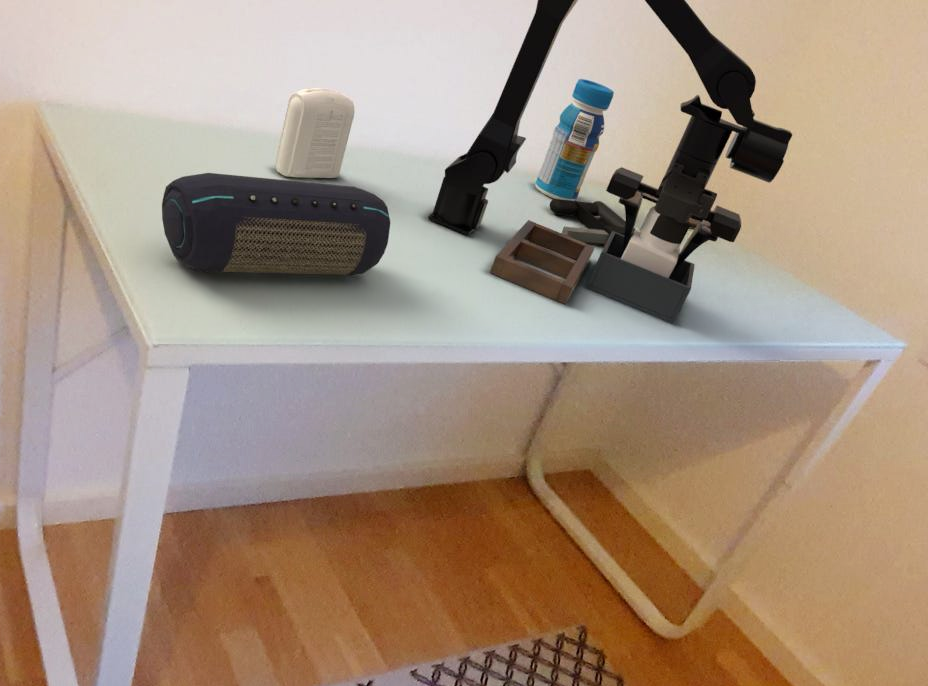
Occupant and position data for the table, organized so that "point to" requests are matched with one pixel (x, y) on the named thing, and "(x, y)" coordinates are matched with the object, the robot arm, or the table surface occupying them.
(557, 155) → the beverage bottle
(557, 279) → the frame
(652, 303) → the tote
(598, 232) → the door handle
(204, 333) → the table surface
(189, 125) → the table surface
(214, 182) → the portable speaker
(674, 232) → the medicine bottle
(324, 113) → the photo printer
